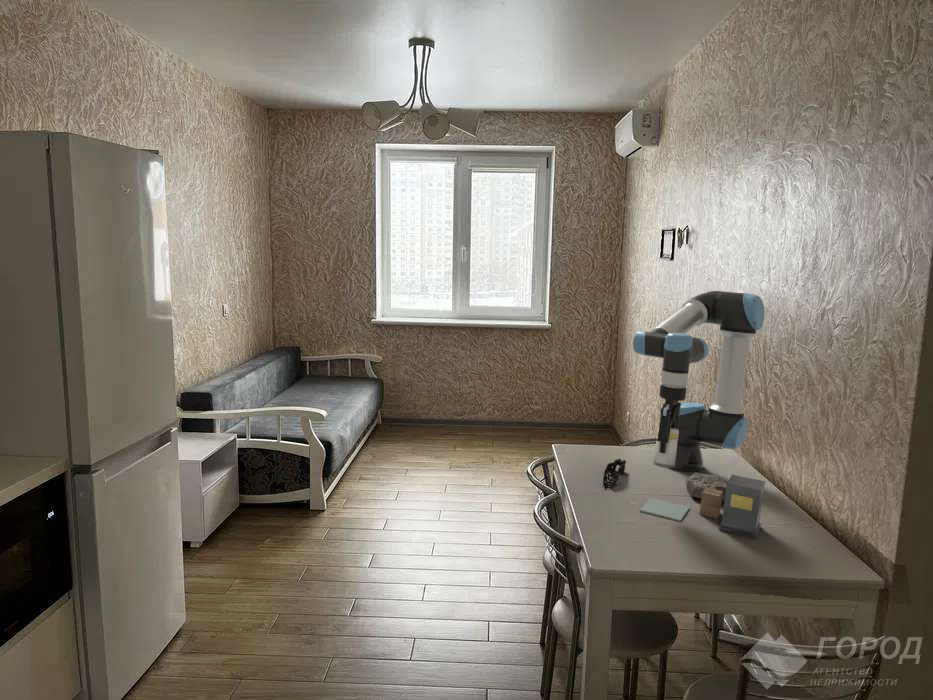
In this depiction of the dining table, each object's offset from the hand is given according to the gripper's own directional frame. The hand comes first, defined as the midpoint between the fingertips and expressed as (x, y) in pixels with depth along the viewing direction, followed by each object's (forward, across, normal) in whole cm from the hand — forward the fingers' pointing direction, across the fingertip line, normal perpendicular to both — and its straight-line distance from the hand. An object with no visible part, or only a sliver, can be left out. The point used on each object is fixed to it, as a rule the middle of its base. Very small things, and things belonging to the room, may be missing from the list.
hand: (665, 460), depth 202 cm
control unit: (+15, 0, +23) cm, 28 cm away
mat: (+15, 0, +2) cm, 15 cm away
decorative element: (+16, -16, -20) cm, 30 cm away
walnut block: (+15, -6, +14) cm, 21 cm away
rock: (+16, -21, +10) cm, 28 cm away
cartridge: (+1, 0, 0) cm, 1 cm away
